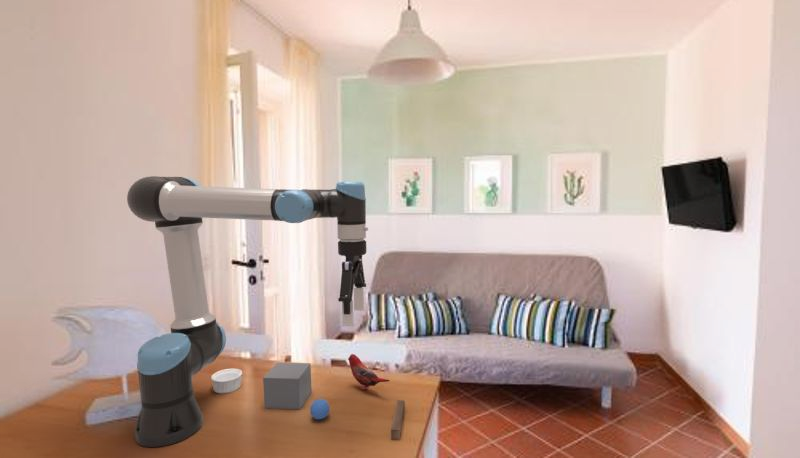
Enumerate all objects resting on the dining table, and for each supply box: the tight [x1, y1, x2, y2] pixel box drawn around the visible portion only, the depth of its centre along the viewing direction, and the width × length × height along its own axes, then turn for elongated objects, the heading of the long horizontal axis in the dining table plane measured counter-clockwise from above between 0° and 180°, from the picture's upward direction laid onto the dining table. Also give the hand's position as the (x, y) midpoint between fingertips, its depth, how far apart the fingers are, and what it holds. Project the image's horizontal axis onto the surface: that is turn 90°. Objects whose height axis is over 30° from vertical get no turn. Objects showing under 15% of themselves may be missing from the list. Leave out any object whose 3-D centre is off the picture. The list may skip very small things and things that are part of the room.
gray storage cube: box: [262, 362, 313, 410], centre depth 121 cm, size 10×10×9 cm
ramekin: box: [210, 368, 243, 394], centre depth 130 cm, size 9×9×4 cm
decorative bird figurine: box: [347, 353, 391, 392], centre depth 125 cm, size 3×18×10 cm, turn 49°
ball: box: [309, 398, 330, 420], centre depth 111 cm, size 5×5×5 cm
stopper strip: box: [390, 399, 406, 441], centre depth 108 cm, size 2×14×2 cm, turn 174°
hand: (353, 317), depth 114 cm, fingers open, 13 cm apart
